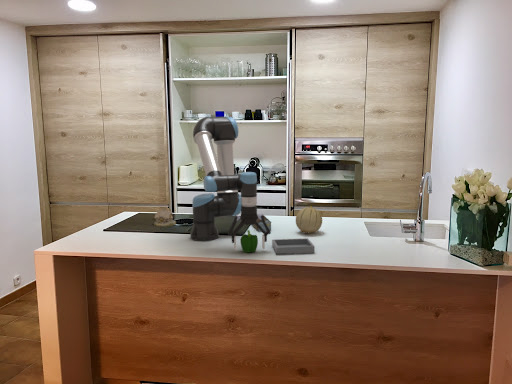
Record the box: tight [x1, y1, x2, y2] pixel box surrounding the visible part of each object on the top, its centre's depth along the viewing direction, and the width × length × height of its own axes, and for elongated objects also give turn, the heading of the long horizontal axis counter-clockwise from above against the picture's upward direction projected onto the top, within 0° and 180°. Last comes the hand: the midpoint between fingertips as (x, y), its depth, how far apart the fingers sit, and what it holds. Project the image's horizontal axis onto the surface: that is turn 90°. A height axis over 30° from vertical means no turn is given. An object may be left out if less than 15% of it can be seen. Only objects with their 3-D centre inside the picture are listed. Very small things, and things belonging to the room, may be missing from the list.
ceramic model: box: [153, 208, 177, 227], centre depth 253 cm, size 14×11×10 cm
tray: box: [271, 238, 315, 256], centre depth 198 cm, size 18×14×4 cm
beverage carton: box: [252, 213, 272, 233], centre depth 242 cm, size 8×19×7 cm, turn 13°
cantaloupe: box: [295, 205, 323, 234], centre depth 229 cm, size 15×15×15 cm
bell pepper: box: [240, 229, 259, 254], centre depth 195 cm, size 8×8×10 cm
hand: (249, 248), depth 196 cm, fingers open, 13 cm apart
